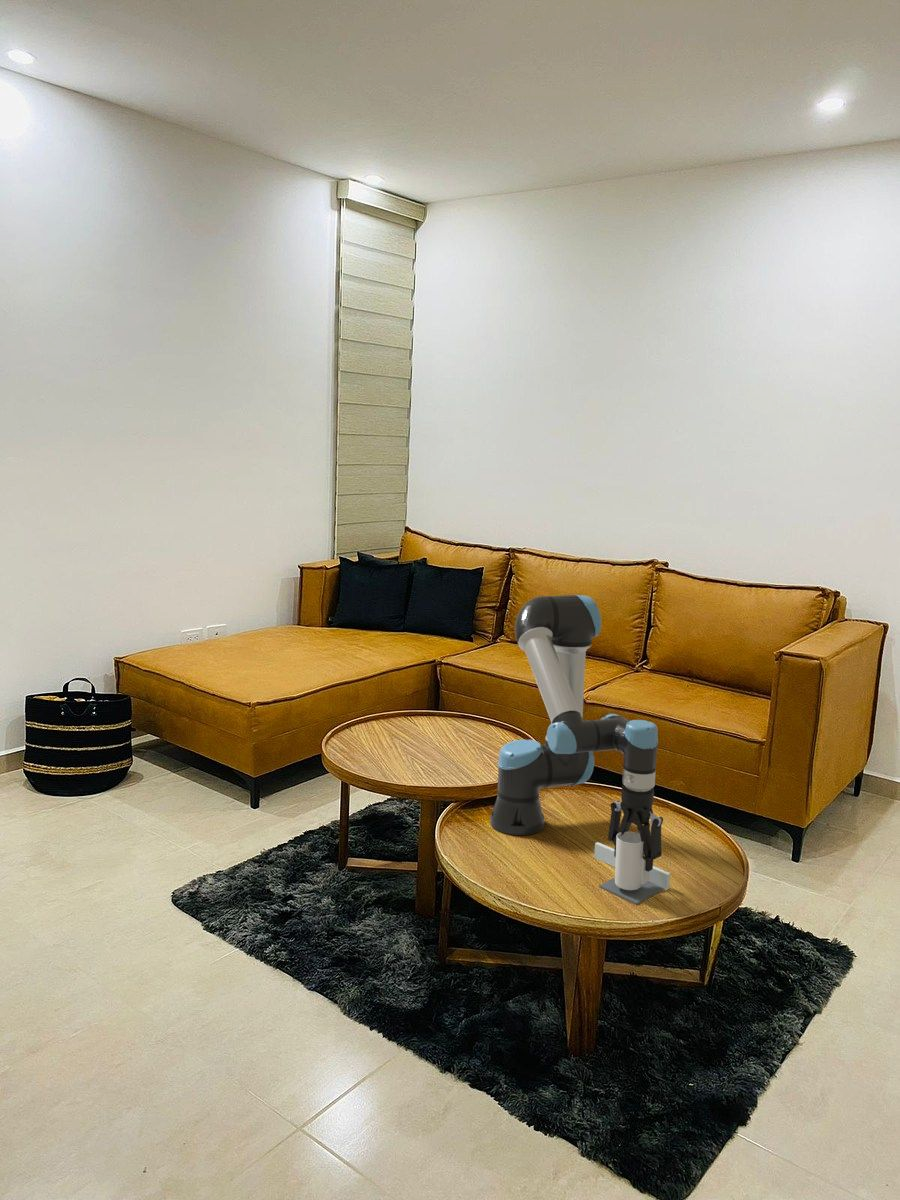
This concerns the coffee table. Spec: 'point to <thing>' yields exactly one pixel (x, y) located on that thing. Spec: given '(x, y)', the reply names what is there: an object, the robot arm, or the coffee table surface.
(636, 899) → the mat
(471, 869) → the coffee table surface
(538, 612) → the robot arm
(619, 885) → the mug
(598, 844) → the wall
